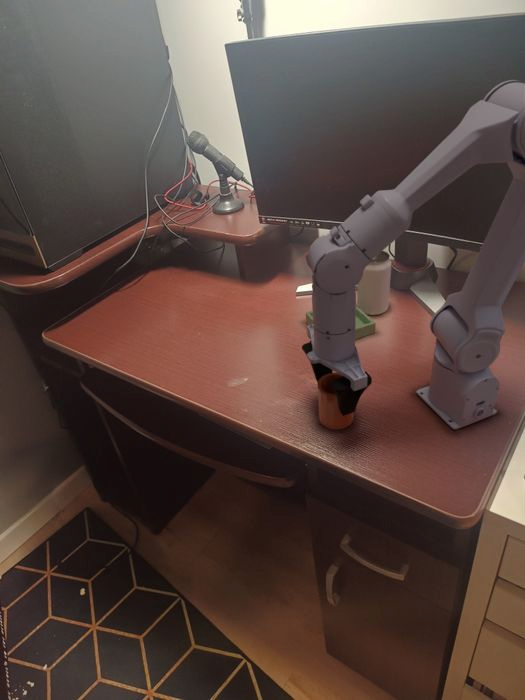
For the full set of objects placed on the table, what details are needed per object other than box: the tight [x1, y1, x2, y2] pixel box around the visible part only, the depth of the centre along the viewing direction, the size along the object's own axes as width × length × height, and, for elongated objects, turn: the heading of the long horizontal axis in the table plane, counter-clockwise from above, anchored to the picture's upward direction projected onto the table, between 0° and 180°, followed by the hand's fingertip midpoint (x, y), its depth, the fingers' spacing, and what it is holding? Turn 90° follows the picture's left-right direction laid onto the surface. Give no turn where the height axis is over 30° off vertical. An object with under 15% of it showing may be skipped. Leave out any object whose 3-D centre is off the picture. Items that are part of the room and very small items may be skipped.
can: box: [356, 250, 392, 316], centre depth 94 cm, size 6×6×12 cm
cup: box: [316, 372, 355, 430], centre depth 72 cm, size 5×5×7 cm
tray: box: [305, 305, 377, 340], centre depth 93 cm, size 10×10×2 cm
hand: (335, 396), depth 71 cm, fingers open, 7 cm apart
